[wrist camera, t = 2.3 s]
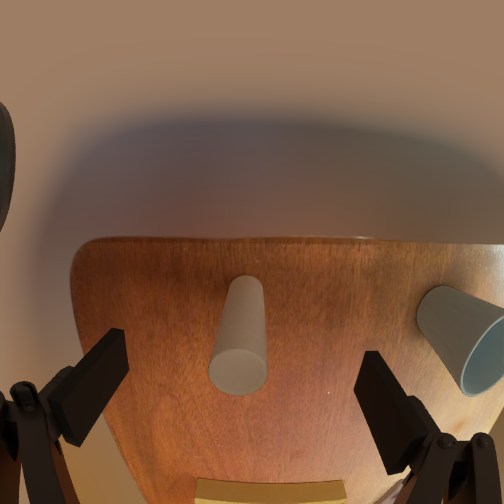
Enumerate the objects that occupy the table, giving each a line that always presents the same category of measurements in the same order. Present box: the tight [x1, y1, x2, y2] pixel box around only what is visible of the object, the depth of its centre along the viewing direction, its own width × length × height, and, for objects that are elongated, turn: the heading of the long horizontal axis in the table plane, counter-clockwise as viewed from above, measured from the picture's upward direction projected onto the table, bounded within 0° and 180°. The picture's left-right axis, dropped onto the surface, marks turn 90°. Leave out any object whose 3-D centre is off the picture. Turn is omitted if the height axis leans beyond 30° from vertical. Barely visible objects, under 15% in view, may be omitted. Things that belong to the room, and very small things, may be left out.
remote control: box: [374, 479, 404, 504], centre depth 33 cm, size 7×16×3 cm, turn 164°
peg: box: [208, 275, 268, 396], centre depth 19 cm, size 3×3×12 cm
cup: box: [417, 286, 504, 397], centre depth 20 cm, size 8×8×10 cm
